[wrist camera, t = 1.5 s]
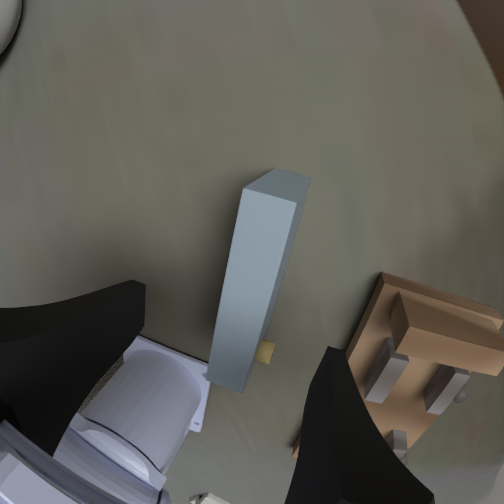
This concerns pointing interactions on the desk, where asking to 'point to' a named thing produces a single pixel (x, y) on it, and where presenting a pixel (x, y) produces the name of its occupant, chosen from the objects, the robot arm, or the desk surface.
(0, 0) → the teacup
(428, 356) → the knife switch board
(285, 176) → the rectangular block
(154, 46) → the desk surface
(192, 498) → the molding
